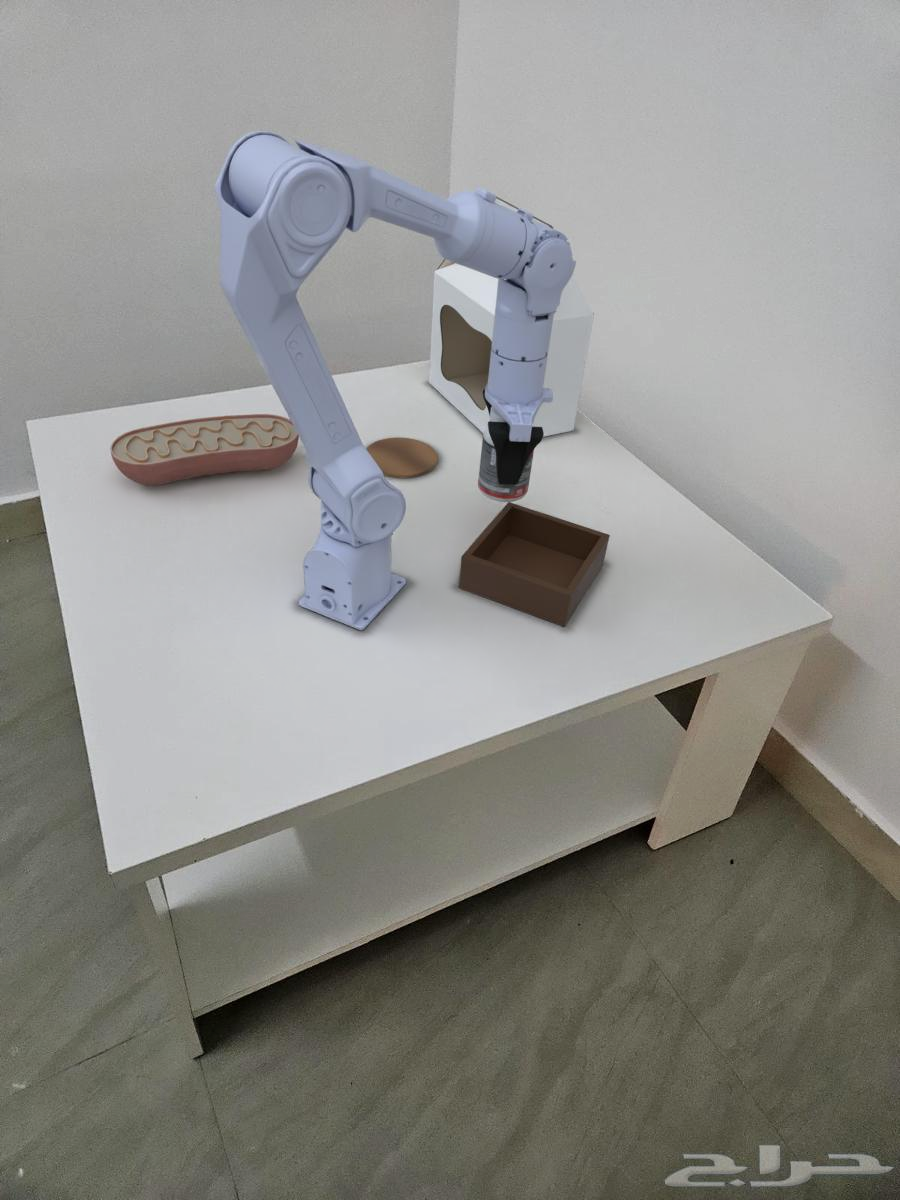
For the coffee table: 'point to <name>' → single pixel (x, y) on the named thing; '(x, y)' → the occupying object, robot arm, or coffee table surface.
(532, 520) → the open box
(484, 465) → the pill bottle
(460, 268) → the gable box
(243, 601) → the coffee table surface
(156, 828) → the coffee table surface
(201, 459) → the anatomical model
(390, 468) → the coaster
